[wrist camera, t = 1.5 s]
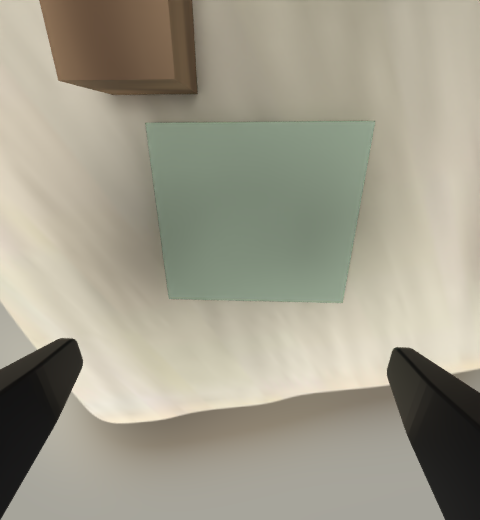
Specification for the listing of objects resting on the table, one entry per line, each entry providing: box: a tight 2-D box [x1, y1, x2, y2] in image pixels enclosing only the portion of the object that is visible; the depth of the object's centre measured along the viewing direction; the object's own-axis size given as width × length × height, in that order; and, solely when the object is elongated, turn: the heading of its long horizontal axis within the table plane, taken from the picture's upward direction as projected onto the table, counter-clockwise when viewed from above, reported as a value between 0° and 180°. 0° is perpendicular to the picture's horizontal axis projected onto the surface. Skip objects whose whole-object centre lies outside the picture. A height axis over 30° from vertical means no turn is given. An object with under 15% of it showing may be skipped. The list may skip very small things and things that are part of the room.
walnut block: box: [39, 0, 198, 95], centre depth 13 cm, size 5×5×5 cm
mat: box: [145, 121, 375, 303], centre depth 18 cm, size 13×12×1 cm
